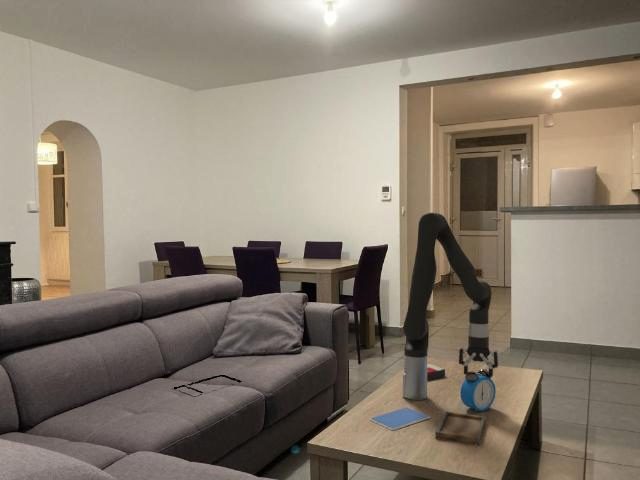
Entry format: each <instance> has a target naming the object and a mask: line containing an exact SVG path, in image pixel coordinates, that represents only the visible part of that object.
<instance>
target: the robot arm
mask: <svg viewBox="0 0 640 480" xmlns="http://www.w3.org/2000/svg"><path fill="white" fill-rule="evenodd" d="M437 241H438V243H440V245H441V247H442V249H443V251H444V253H445V256H446V259H447V261H448V264H449V265H450V267H451V268H452V270H453V271H454V273H455V275H456V276H457V277H458V279H459V281H460V285H462V286H461V287H462V288H463V291H464V293H465V295H466V296H467V297H468V298H469V299H470V300H471V301H473V302H472V306H470V309H469V310H468V311H469V312H468V330H467V339H468V341H467V342H468V343H467V344H468V345H467V348H464V347H460V348H459V355H458V364H459V365H462V366H463V374H464V375H466V374H467V373H468V372H469V364H470V363H471V361H473V362H480V363H482V362H484V363H485V364H486V365H487V367H488V371H489V378H490V379H491V378H493V376H494V369H495V368H498V367H499V356H498V354H499V352H498V350H490V349H489V348H490V327H489V311H490V305H491V301H492V288H491V285H490V284H489V283H488V282H486V281H484V280H482V281H479V280H478V278H477V276H476V274H477V270H476V269H475V267H474V265H473V264H472V262H471V260H469V258H468V256H467V254H465V252H464V251H463V249H462V247H461V246H460V245H459V242H458V241H457V239H456V237H455V235H454V233H453V231H452V229H451V227H450V225H449V223H448V220H447V219H446V218H445V215H443V214H441V213H438V212H425V213H424V214H423V215H421V217H420V218H419V221H418V228H417V241H416V242H417V244H416V251H415V257H414V262H413V263H414V264H413V269H412V275H411V282H410V287H409V289H410V291H409V300H408V308H407V311H406V315H405V319H404V322H403V326H402V330H403V333H404V336H405V343H404V344H405V346H404V350H403V351H404V357H403V358H404V359H403V360H404V361H403V362H404V363H403V366H404V367H403V368H404V370H403V373H402V398H406V399H408V400H413V401H422V400H426V399H427V398H428V380H427V364H428V351H429V337H430V336H429V335H430V333H429V332H430V329H429V328H430V325H429V321H428V320H427V310H428V306H429V303H430V300H431V297H432V294H433V290H434V287H435V283H436V277H437V268H438V267H437V260H436V253H435V249H436V242H437ZM465 354H467V355H468V358H467V359H466V360H464V355H465ZM490 355H491V357H492V358H493V363H492V361H491V360H490V358H489V356H490Z"/></svg>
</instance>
